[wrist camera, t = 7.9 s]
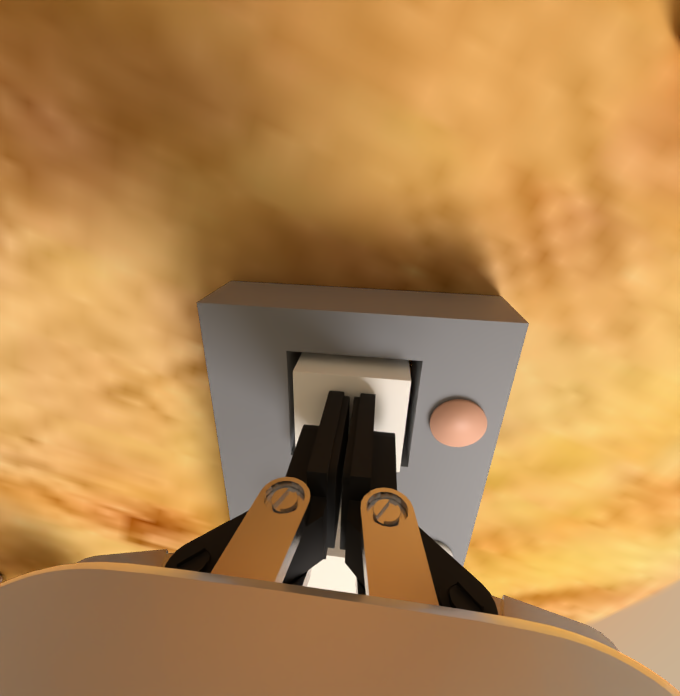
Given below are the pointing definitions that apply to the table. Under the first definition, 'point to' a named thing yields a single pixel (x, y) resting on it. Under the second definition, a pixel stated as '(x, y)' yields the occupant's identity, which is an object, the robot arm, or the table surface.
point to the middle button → (333, 570)
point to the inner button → (353, 390)
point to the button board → (368, 341)
